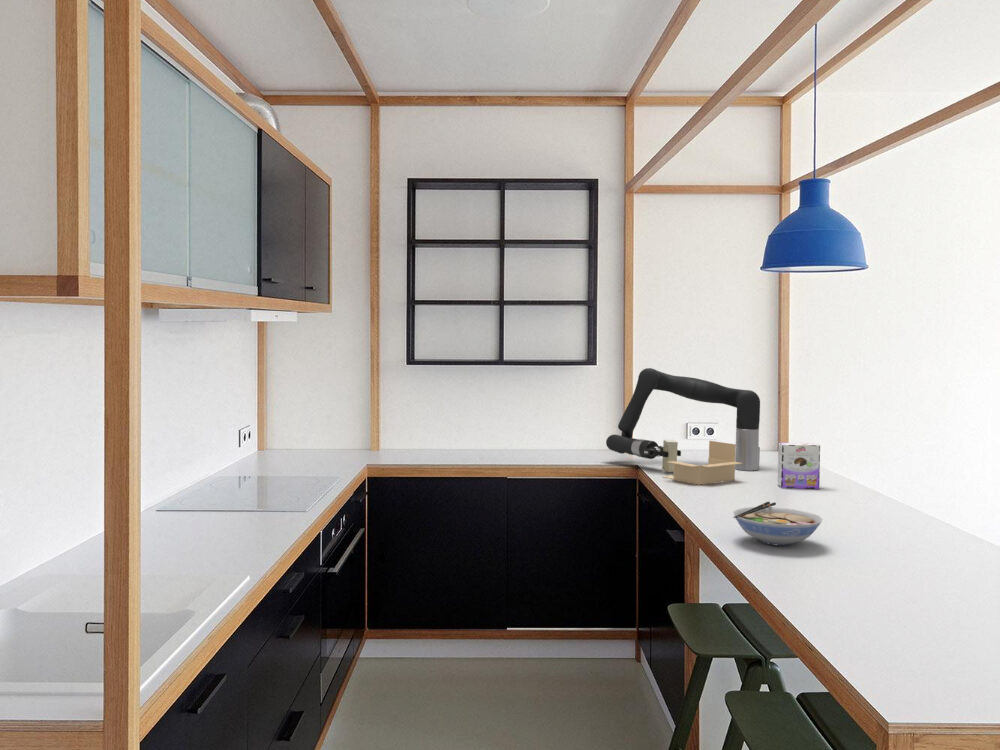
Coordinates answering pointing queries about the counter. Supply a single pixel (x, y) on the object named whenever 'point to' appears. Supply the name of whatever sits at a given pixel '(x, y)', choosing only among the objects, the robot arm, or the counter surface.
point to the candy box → (799, 465)
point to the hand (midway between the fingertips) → (674, 454)
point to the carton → (708, 466)
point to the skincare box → (671, 448)
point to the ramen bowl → (777, 523)
